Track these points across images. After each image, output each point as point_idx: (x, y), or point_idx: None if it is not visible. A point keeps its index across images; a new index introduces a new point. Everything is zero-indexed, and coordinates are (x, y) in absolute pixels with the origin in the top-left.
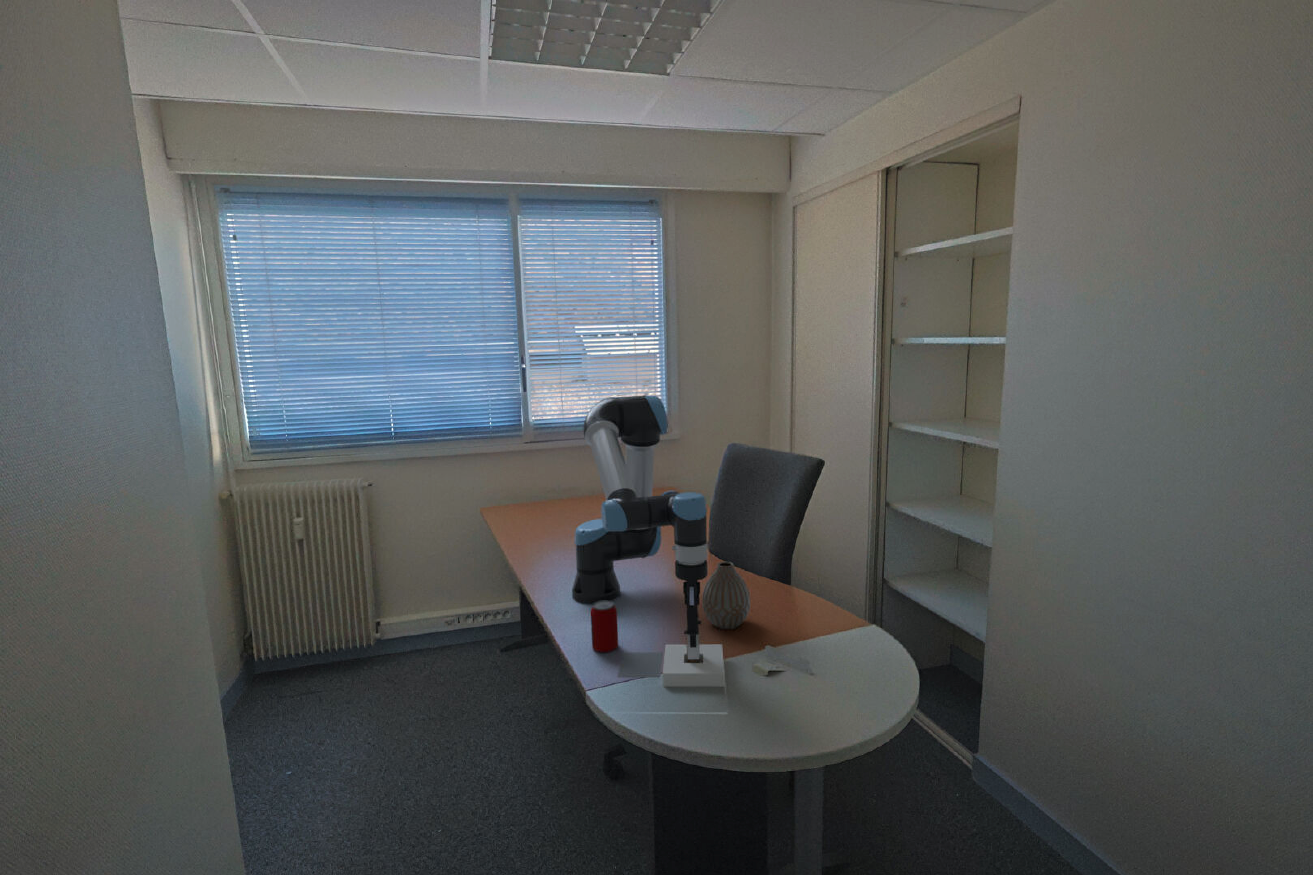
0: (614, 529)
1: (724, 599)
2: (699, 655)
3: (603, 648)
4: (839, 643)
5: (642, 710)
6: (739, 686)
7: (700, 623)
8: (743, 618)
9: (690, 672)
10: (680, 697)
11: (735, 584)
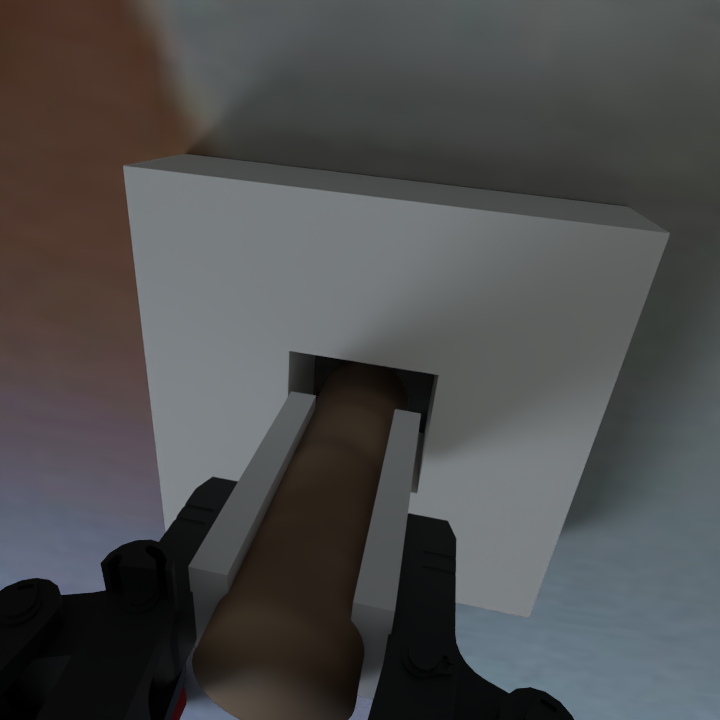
0: None
1: None
2: (362, 401)
3: (179, 712)
4: None
5: (707, 650)
6: (642, 76)
7: (174, 574)
8: None
9: (562, 479)
10: (650, 488)
11: None
